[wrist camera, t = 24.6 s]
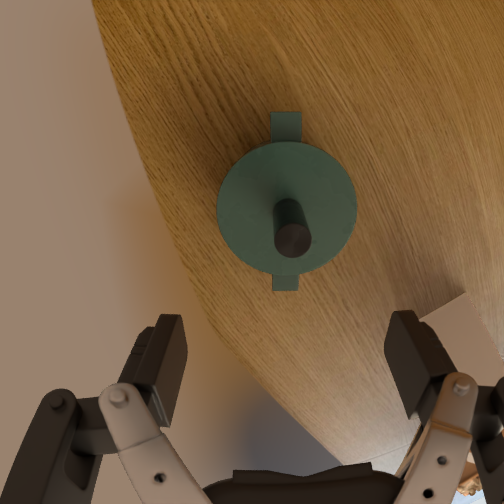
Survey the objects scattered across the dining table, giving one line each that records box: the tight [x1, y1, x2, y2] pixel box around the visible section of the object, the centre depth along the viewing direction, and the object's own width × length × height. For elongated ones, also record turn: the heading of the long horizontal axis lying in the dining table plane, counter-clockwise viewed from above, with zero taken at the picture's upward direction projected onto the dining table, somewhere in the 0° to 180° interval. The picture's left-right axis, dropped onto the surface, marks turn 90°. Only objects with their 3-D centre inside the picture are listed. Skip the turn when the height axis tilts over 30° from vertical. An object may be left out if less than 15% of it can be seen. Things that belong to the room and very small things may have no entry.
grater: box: [419, 292, 504, 464], centre depth 30 cm, size 10×10×20 cm
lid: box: [217, 141, 357, 275], centre depth 23 cm, size 11×11×7 cm
